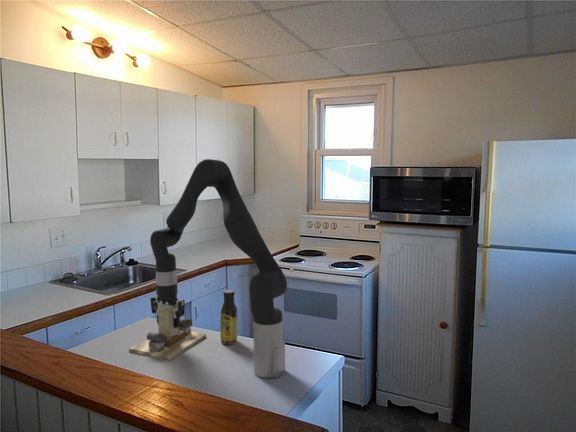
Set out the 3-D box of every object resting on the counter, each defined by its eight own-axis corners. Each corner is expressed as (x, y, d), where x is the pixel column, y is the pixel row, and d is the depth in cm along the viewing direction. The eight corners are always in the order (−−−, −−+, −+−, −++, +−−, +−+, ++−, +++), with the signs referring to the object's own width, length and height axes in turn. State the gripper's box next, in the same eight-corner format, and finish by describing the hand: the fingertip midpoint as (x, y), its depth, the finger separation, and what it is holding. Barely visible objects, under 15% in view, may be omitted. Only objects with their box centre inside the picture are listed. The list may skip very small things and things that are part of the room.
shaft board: (205, 336, 174) (205, 319, 173) (170, 359, 154) (169, 339, 153) (168, 330, 181) (167, 313, 180) (128, 351, 161) (127, 332, 160)
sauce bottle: (217, 342, 169) (215, 290, 167) (230, 337, 174) (229, 287, 171) (227, 347, 165) (226, 294, 162) (241, 342, 169) (240, 290, 167)
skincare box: (158, 334, 167) (156, 302, 166) (167, 330, 171) (166, 299, 169) (169, 338, 164) (168, 305, 162) (179, 334, 167) (177, 302, 166)
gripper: (189, 281, 165) (190, 325, 168) (157, 277, 171) (159, 320, 173) (176, 286, 159) (178, 332, 161) (144, 282, 164) (146, 326, 166)
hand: (168, 325), depth 167 cm, fingers closed on skincare box, 6 cm apart
